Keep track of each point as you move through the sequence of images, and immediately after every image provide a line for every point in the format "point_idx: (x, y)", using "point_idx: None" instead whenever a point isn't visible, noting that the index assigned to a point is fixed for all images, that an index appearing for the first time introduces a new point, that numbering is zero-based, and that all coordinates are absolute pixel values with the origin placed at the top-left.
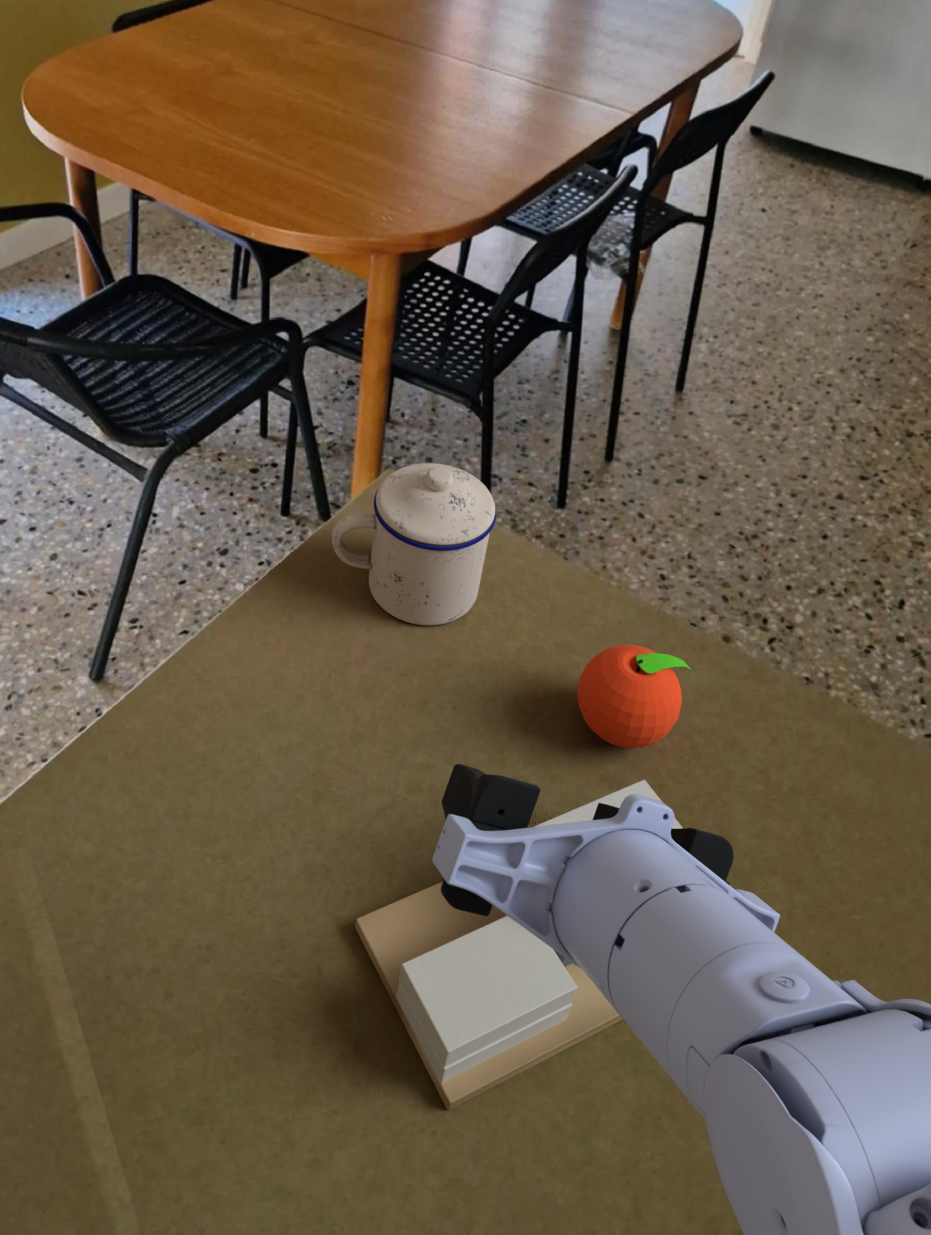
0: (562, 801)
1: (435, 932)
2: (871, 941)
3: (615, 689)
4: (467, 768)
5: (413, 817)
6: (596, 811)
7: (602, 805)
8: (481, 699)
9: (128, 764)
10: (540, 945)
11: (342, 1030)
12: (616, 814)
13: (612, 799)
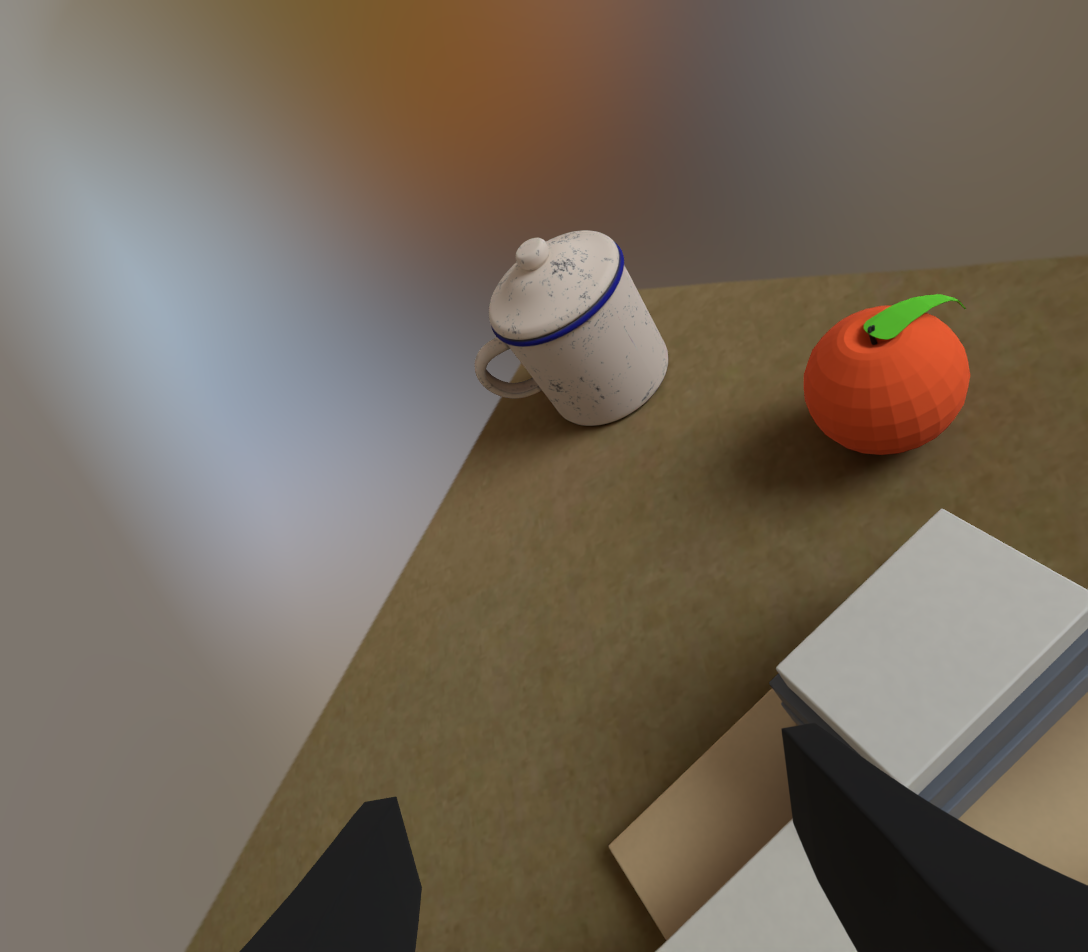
0: (846, 560)
1: (715, 837)
2: None
3: (849, 385)
4: (322, 855)
5: (658, 660)
6: (786, 750)
7: (789, 740)
8: (704, 472)
9: (363, 710)
10: None
11: None
12: (822, 783)
13: (895, 567)
